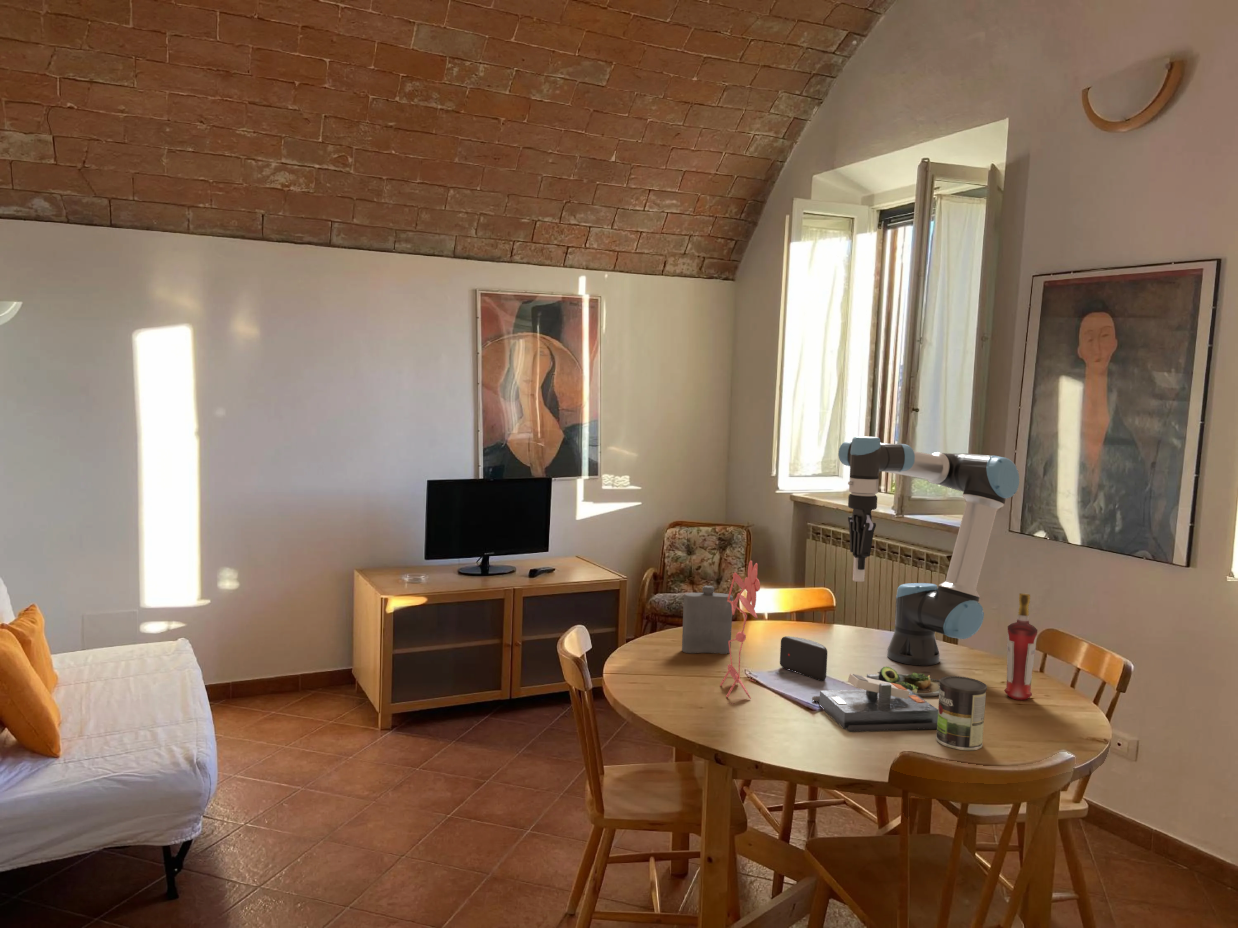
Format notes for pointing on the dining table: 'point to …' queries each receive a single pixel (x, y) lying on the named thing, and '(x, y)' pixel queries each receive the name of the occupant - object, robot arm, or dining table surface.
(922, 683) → the salad plate
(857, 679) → the rocker
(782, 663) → the black rounded flat block
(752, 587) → the figurine
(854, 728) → the rods
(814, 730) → the dining table surface
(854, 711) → the lever switch plate
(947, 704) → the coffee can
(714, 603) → the flask
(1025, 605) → the liquor
